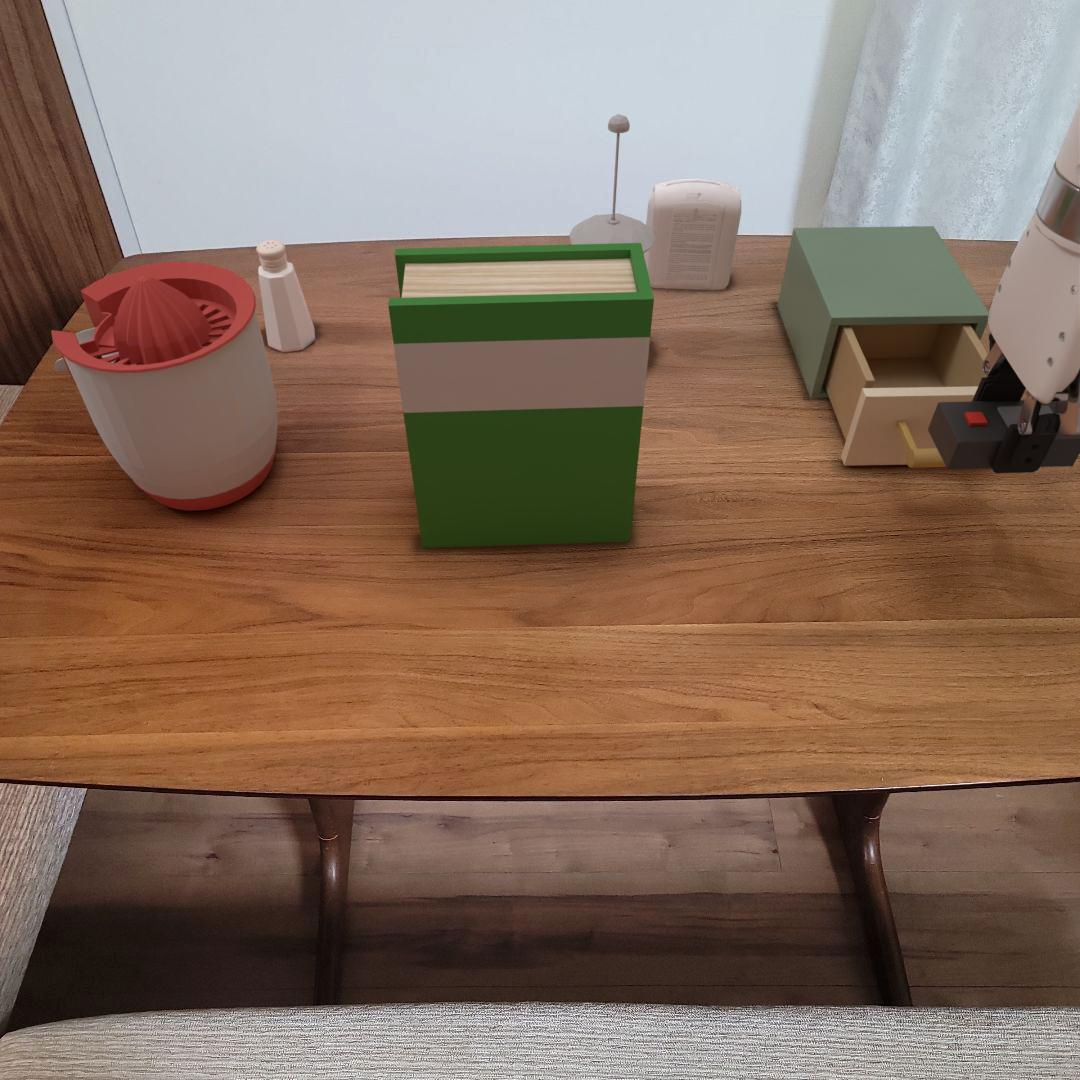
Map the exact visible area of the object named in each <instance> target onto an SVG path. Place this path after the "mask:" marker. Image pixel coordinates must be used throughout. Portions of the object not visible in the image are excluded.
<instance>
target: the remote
mask: <svg viewBox="0 0 1080 1080" xmlns="http://www.w3.org/2000/svg"><path fill="white" fill-rule="evenodd" d="M1024 400H1025V399H1021V400H1010V401H970V402H938V404H937V407H936V410H935V412H934V415H933V417H932V420H931V422H930V425H929V428H928V431H929V433H930V435H931V437H932V439H933V441H934V443H935V445H936V448H937V450H938V452H939V454H940V456H941V458H942V460H943V462H944V464H945V466H946V467H945V468H946V469H947V470H977V469H978V470H980V469H992V467H991V464H992V462H993V460H994V458H995V456H996V454H997V451H998V449H999V447H1000V445H1001V443H1002V441H1003V438H1004V436H1005V434H1006V432H1007V430H1008V427H1009V426H1010V425H1012V424H1018V420H1019V417H1020V414H1021V410H1022V407H1023V404H1024ZM1056 403H1057V401H1051V402H1050V403H1048V404H1043V403H1042V406H1041V409H1040V412H1039V415H1043V414H1048V413H1053V412H1054V409H1055V406H1056ZM1079 456H1080V435H1069V434H1057V435H1056V437H1055V439H1054V441H1053V443H1052V445H1051V447H1050V449H1049V451H1048V453H1047V455H1046V457H1045V458H1044V460H1043V462H1042V464H1041V466H1040V468H1053V467H1054V468H1058V467H1073V466H1074V465H1075V463H1076V462H1077V459H1078V458H1079Z"/></svg>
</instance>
